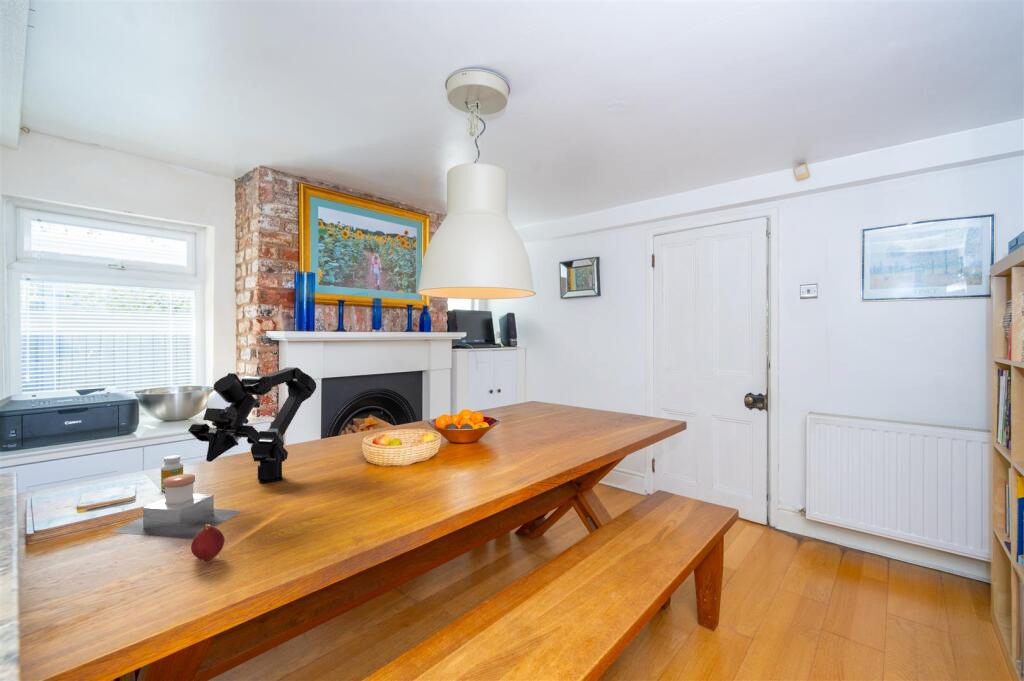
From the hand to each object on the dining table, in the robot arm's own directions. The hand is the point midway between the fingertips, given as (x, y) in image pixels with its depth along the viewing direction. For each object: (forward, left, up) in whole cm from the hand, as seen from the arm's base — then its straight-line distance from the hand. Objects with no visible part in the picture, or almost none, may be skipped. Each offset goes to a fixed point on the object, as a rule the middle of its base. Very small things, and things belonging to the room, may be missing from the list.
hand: (208, 461), depth 121 cm
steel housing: (+6, +7, -12) cm, 15 cm away
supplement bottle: (+10, -25, -14) cm, 30 cm away
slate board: (+6, +7, -13) cm, 16 cm away
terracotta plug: (+6, +7, -8) cm, 12 cm away
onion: (0, +31, -14) cm, 34 cm away
